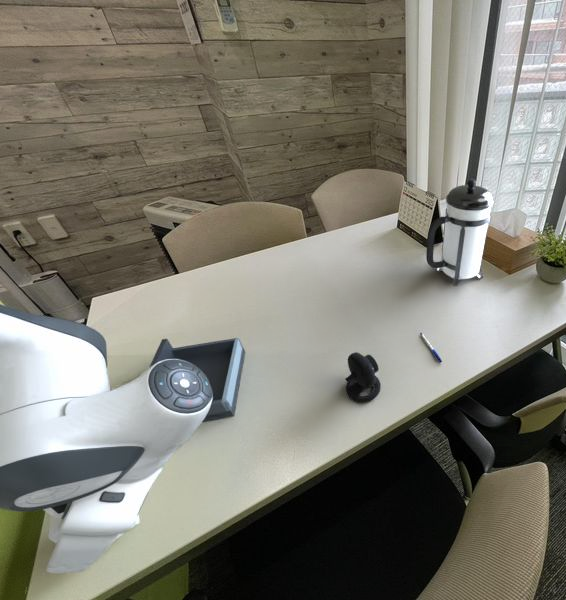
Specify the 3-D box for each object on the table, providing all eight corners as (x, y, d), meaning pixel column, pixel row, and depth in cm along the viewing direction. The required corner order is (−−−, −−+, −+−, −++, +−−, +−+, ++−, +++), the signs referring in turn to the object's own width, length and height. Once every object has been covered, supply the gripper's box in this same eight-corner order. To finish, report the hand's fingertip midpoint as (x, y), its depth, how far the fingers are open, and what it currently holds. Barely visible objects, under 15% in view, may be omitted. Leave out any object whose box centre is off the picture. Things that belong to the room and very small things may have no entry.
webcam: (388, 390, 69) (387, 359, 63) (360, 411, 65) (355, 379, 59) (366, 369, 74) (363, 337, 68) (338, 387, 70) (332, 355, 64)
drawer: (245, 352, 78) (234, 327, 73) (234, 416, 64) (220, 392, 60) (177, 363, 75) (162, 339, 70) (151, 433, 62) (129, 409, 57)
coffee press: (441, 257, 112) (449, 167, 93) (487, 267, 107) (505, 174, 88) (424, 284, 100) (429, 186, 81) (475, 296, 95) (493, 196, 76)
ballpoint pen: (443, 362, 75) (443, 359, 75) (439, 363, 75) (440, 360, 75) (421, 333, 83) (421, 330, 82) (418, 334, 83) (418, 331, 82)
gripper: (132, 377, 47) (98, 425, 52) (50, 545, 32) (13, 591, 37) (179, 389, 51) (143, 433, 56) (126, 545, 36) (83, 586, 41)
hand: (91, 497), depth 46 cm, fingers closed on medicine bottle, 8 cm apart
